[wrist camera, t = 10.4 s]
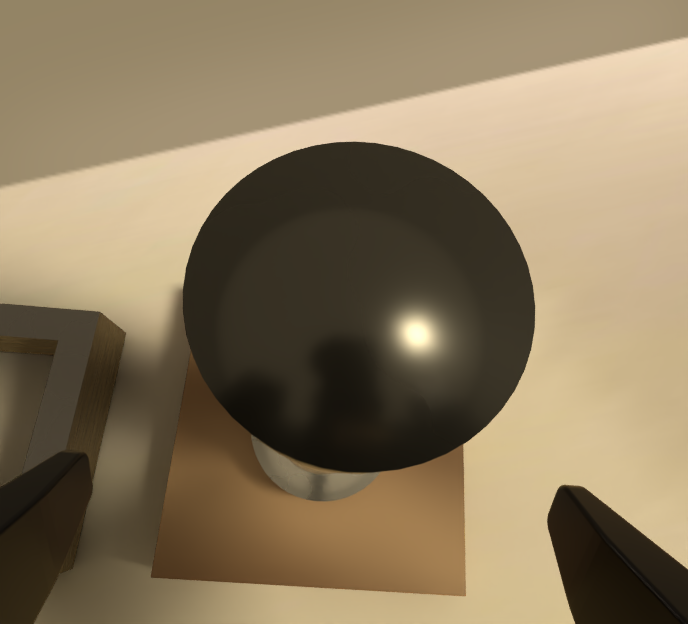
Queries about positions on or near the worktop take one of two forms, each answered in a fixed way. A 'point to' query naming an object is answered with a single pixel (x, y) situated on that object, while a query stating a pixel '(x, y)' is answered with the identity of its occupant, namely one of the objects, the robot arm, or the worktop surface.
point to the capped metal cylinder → (357, 313)
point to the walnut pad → (302, 517)
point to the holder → (67, 380)
